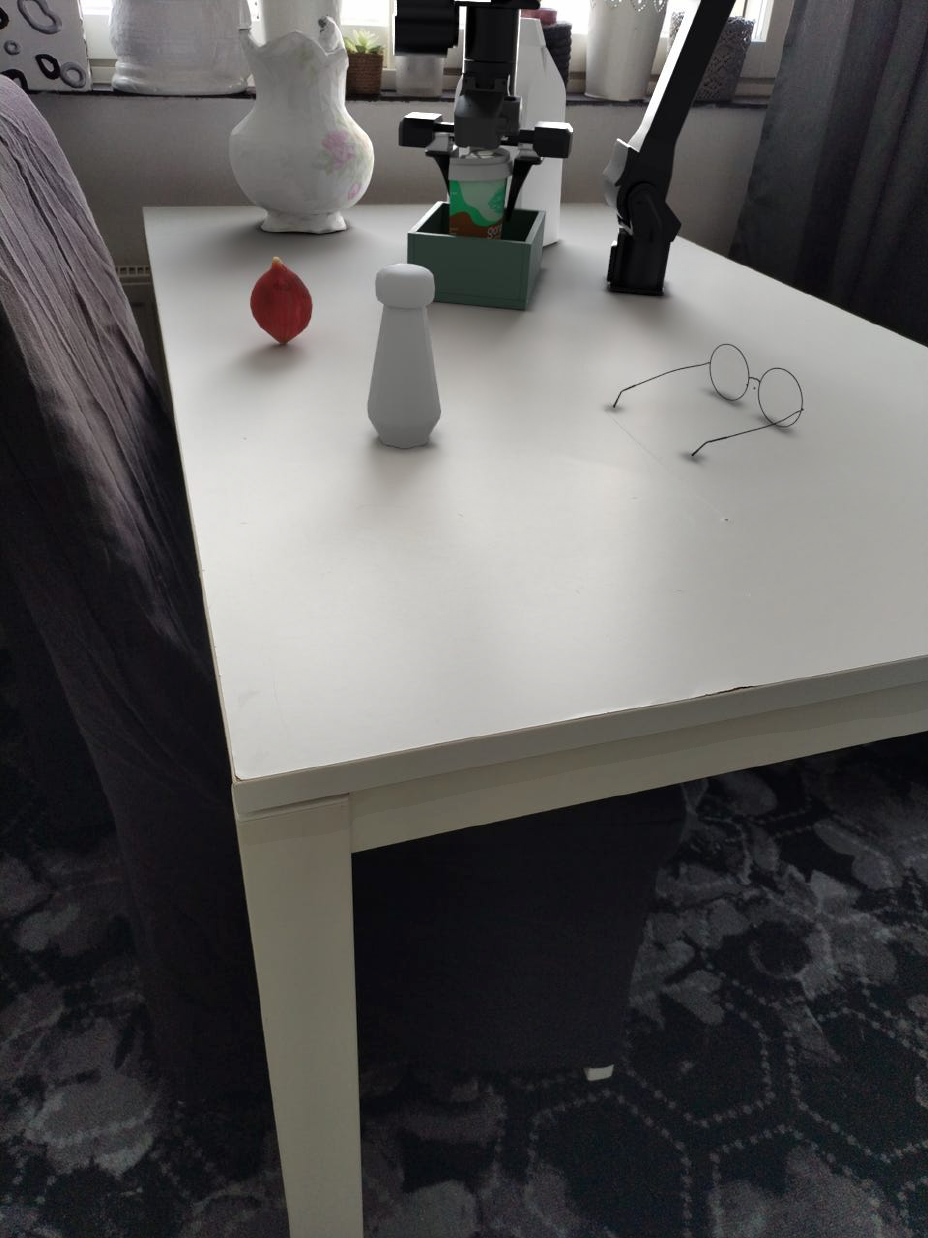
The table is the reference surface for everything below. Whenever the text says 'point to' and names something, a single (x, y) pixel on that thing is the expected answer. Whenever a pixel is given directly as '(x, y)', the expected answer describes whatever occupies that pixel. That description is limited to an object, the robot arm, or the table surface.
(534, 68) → the milk
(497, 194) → the food container
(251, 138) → the ceramic pitcher
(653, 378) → the eyeglasses
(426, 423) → the salt shaker
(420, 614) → the table surface
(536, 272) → the green open box
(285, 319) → the onion
